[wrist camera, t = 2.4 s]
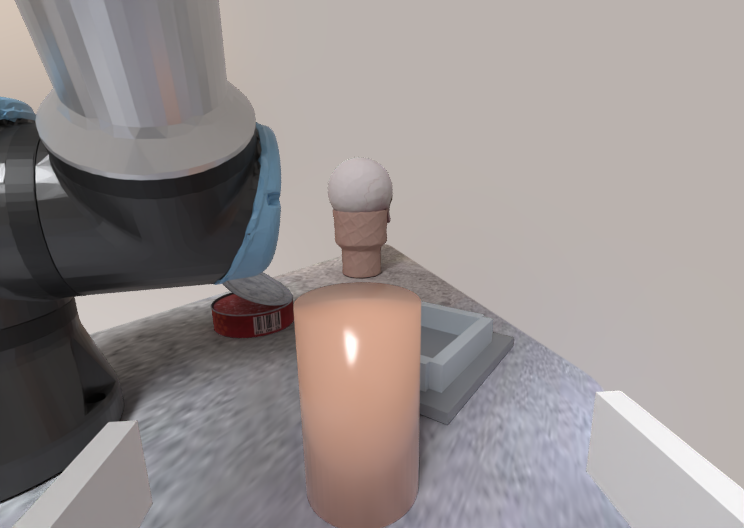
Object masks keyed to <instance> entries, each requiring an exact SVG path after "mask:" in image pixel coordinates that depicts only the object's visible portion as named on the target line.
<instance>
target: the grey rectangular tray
mask: <svg viewBox="0 0 744 528" xmlns="http://www.w3.org/2000/svg"><path fill="white" fill-rule="evenodd" d="M513 344H514V337H511V336H507V335H502V334H498V333H494V332H493V319H492V318H487V317H484V314H479V313H475V312H470V311H465V310H461V309H456V308H451V307H446V306H442V305H437V304H432V303H428V302H423V301H421V350H420V414H421V415H424V416H426V417H429V418H431V419H434V420H436V421H439V422H441V423H444V424H446V425H448V424H449V423H450V422H451V420H452V419H453V418H454V417H455V416H456V414H457V413H458V412H459V411H460V409H461V408H462V407H463V406H464V405H465V403H466V402H467V401H468V400H469V399H470V397H471V396H472V395H473V394H474V393H475V391H476V390H477V389H478V388H479V387H480V385H481V384H482V383H483V382H484V381H485V379H486V378H487V377H488V376H489V375H490V373H491V372H492V371H493V370H494V369H495V367H496V366H497V365H498V364H499V363H500V361H501V360H502V359H503V358H504V356H505V355H506V354H507V353H508V352H509V350H510V349H511V348H512V347H513Z"/></svg>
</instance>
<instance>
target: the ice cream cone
mask: <svg viewBox="0 0 744 528" xmlns="http://www.w3.org/2000/svg"><path fill="white" fill-rule="evenodd" d="M328 197H329V200H330V203H331V205H332V207H333V217H334V227H335V241H336V243H337V244H338V245H339V246H340V247H341V248H342V262H343V271H342V272H343V274H344V275H346V276H349V277H354V278H365V277H372V276H376V275H378V274H379V273H381V252H380V251H381V246H382V245H383V244H385V243H386V241H387V233H386V229H387V223H389V222H390V215H389V208H390V203H391V201H392V182H391V179H390V177H389V174H388V173H387V170H386V169H385V168H383V166H382V165H381V164H379V163H378V162H376V161H374V160H372V159H369V158H364V157H358V158H351V159H348V160H346V161H344V162H343V163H341V164H340V165H338V167H336V168H335V170H334V171H333V173H332V175H331V177H330V179H329V183H328Z"/></svg>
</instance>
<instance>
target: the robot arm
mask: <svg viewBox="0 0 744 528" xmlns="http://www.w3.org/2000/svg"><path fill="white" fill-rule="evenodd" d="M15 2H16V4H17V7H18V9H19V11H20V13H21V16H22V18H23V20H24V22H25V25H26V27H27V29H28V31H29V33H30V36H31V38H32V40H33V42H34V45H35V47H36V49H37V52H38V54H39V56H40V58H41V61H42V63H43V65H44V67H45V70H46V72H47V74H48V76H49V79H50V81H51V83H52V85H53V89H52V90H51V92H50V93H49V94H48V95H47V96H46V98H45V99H44V100H43V102H42V103H41V105H40V107H39V109H38V111H37V114H36V115H35V113H34V112H33V110H32V108H31V107H30V106H29V105H28V104H26V103H24V102H22V101H19V100H16V99H11V98H6V97H0V501H3V500H5V499H7V498H9V497H12V496H14V495H16V494H19V493H21V492H23V491H25V490H27V489H29V488H31V487H33V486H35V485H37V484H39V483H41V482H43V481H45V480H46V479H48V478H50V477H52V476H54V475H55V474H57V473H59V472H60V471H62V470H64V469H65V468H66V469H65V470H64V471H63V472H62V473H61V474H60V475H59V477H58V478H57V479H56V480H55V481H54V482H53V483H52V484H51V485H50V486H49V487H48V488H47V490H46V491H45V492H44V493H43V494H42V495H41V496H40V497H39V498H38V499H37V500H36V501H35V503H34V504H33V505H32V506H31V507H30V508H29V509H28V510H27V511H26V512H25V513H24V515H23V516H22V517H21V518H20V519H19V520H18V521H17V522H16V523H15V524H14V525H13V526H12V528H139V527H140V525H141V523H142V522H143V520H144V518H145V516H146V514H147V513H148V511H149V509H150V507H151V506H152V504H153V502H152V497H151V491H150V486H149V480H148V475H147V470H146V464H145V459H144V453H143V448H142V443H141V437H140V432H139V426H138V421H137V420H136V421H120V422H118V421H119V420H120V418H121V416H122V413H123V409H124V401H123V396H122V391H121V386H120V381H119V379H118V376H117V374H116V373H115V371H114V370H113V368H112V367H111V365H110V364H109V363H108V361H107V360H106V358H105V357H104V355H103V354H102V353H101V351H100V350H99V348H98V347H97V345H96V344H95V342H94V341H93V340H92V338H91V337H90V335H89V334H88V333H87V331H86V329H85V328H84V327H83V325H82V324H81V322H80V319H79V315H78V312H77V307H76V302H75V298H74V297H75V296H86V295H94V294H104V293H116V292H126V291H138V290H149V289H161V288H172V287H183V286H194V285H205V284H215V285H217V284H222V283H224V282H226V281H228V280H234V279H241V278H247V277H253V276H256V275H259V274H260V273H262V272H263V271H264V270H265V269H267V267H268V266H269V265H270V263H271V261H272V259H273V256H274V254H275V250H276V246H277V241H278V234H279V226H280V212H281V206H280V201H279V197H280V191H281V166H280V156H279V149H278V145H277V141H276V137H275V134H274V133H273V131H272V130H271V129H270V128H269V127H267V126H264V125H261V124H258V123H257V122H256V119H255V113H254V109H253V107H252V105H251V103H250V101H249V100H248V99H247V97H246V96H245V95H244V94H243V93H242V92H241V91H240V90H239V89H237V88H236V87H235V86H233V85H232V84H231V83H230V82H228V81H227V78H226V68H225V58H224V48H223V38H222V29H221V18H220V9H219V0H15ZM586 472H587V473H588V474H589V475H590V477H591V478H592V479H593V480H594V482H595V483H596V484H597V485H598V487H599V488H600V489H601V490H602V492H603V493H604V494H605V495H606V497H607V498H608V499H609V500H610V502H611V503H612V504H613V505H614V507H615V508H616V509H617V510H618V512H619V513H620V514H621V515H622V517H623V518H624V519H625V520H626V522H627V523H628V524H629V525H630V527H631V528H744V490H743V489H742V488H741V487H740V486H739V485H737V484H736V483H735V482H734V481H732V480H731V479H730V478H729V477H727V476H726V475H725V474H724V473H722V472H721V471H720V470H719V469H717V468H716V467H715V466H714V465H712V464H711V463H710V462H709V461H708V460H706V459H705V458H704V457H703V456H701V455H700V454H699V453H697V452H696V451H695V450H694V449H692V448H691V447H690V446H689V445H688V444H686V443H685V442H684V441H683V440H681V439H680V438H679V437H678V436H676V435H675V434H674V433H673V432H671V431H670V430H669V429H668V428H666V427H665V426H664V425H663V424H661V423H660V422H659V421H658V420H656V419H655V418H654V417H653V416H652V415H650V414H649V413H648V412H647V411H645V410H644V409H643V408H642V407H640V406H639V405H638V404H637V403H635V402H634V401H633V400H632V399H630V398H629V397H628V396H627V395H625V394H624V393H623V392H622V391H605V392H596V394H595V403H594V411H593V419H592V427H591V436H590V444H589V452H588V460H587V468H586Z"/></svg>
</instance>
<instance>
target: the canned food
mask: <svg viewBox="0 0 744 528" xmlns="http://www.w3.org/2000/svg"><path fill="white" fill-rule="evenodd" d="M222 284H223V285H224V286H225V287H226V288H227V289H228V290H230V291H231V292H232V293H229V294H226V295H224V296H221V297H219V298H217V299H216V300H215V301H214V302H212V304H211V309H212V316H213V324H214V330H215V331H216V333H218V334H220V335H222V336H226V337H231V338H252V337H259V336H265V335H269V334H272V333H275V332H278V331H281V330H283V329H285V328H286V327H288V326H289V325H291V323H292V322H293V321H294V310H293V295H292V294H291V292H290V290H289V289H288V288H286V287H285V286H284V285H283V284H282V283H280V282H278V281H276V280H275V279H273V278H272V277H270V276H269V275H267V274H265V273H263V272H262V273H260V274H259V275H256V276H253V277H247V278H241V279H234V280H228V281H226V282H224V283H222Z"/></svg>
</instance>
